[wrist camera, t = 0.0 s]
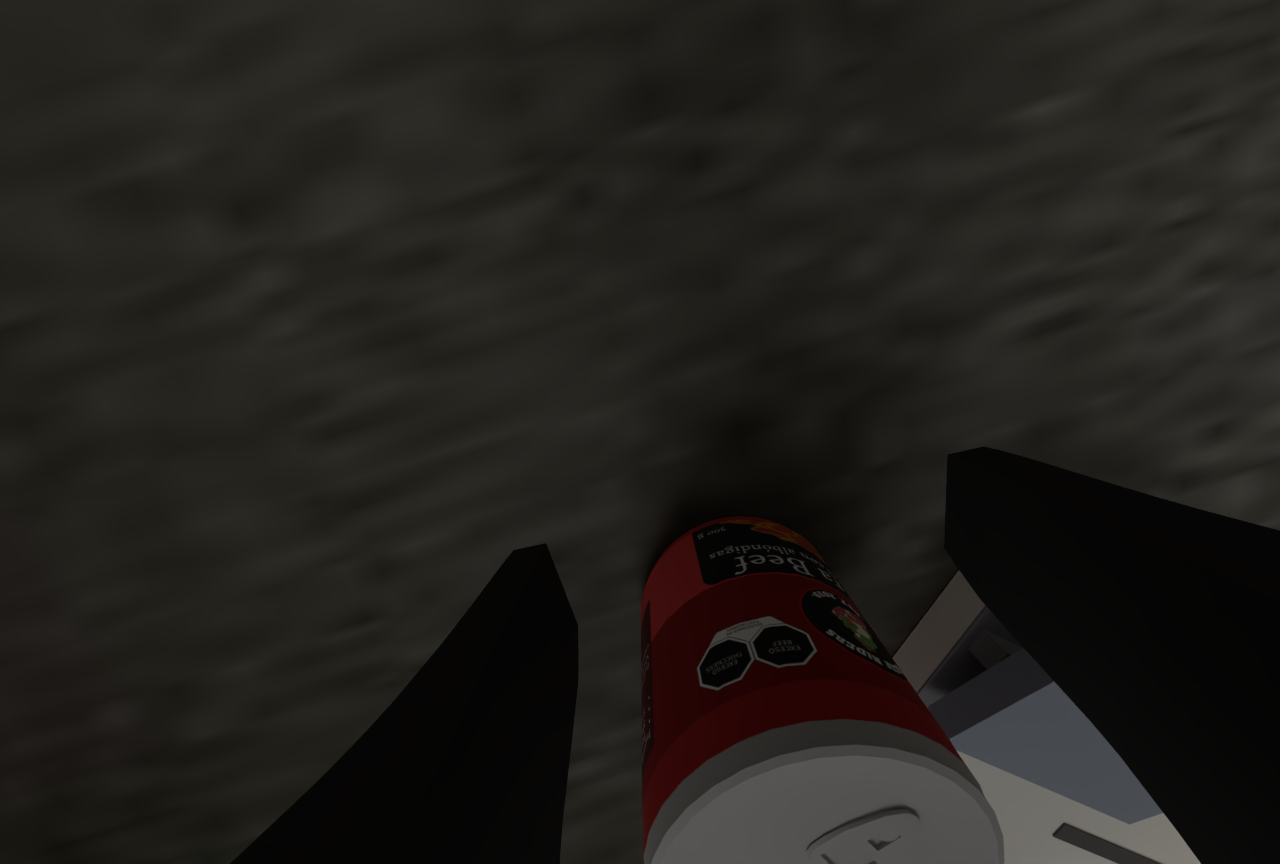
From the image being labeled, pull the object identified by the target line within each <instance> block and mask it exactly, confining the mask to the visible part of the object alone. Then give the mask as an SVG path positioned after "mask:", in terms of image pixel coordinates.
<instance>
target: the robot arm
mask: <svg viewBox="0 0 1280 864" xmlns="http://www.w3.org/2000/svg"><path fill="white" fill-rule="evenodd" d="M944 548H945V550H946V551H947V553H948V554H949V556H950V557H951V558H952V560H953V561H954V563H955V564H956V566H957V567H958V569H959V570H960V572H961V573H962V575H963V576H964V578H965V579H966V580H967V582H968V583H969V585H970V586H971V587H972V589H973V590H974V592H975V593H976V594H977V596H978V597H979V598H980V600H981V601H982V602H983V603H984V604H985V605H986V606H987V608H988V609H989V610H990V611H991V612H992V613H993V614H994V615H995V617H996V618H997V619H998V620H999V621H1000V622H1001V623H1002V624H1003V626H1004V627H1005V628H1006V629H1007V630H1008V631H1009V632H1010V633H1011V634H1012V636H1013V637H1014V638H1015V639H1016V640H1017V641H1018V642H1019V643H1020V644H1021V646H1022V647H1023V648H1024V649H1025V650H1026V651H1027V652H1028V653H1029V654H1030V655H1031V657H1032V658H1033V659H1034V660H1035V661H1036V662H1037V663H1038V664H1039V665H1040V666H1041V668H1042V669H1043V670H1044V671H1045V672H1046V673H1047V674H1048V675H1049V676H1050V677H1051V679H1052V680H1053V681H1054V682H1055V683H1056V684H1057V685H1058V686H1059V687H1060V688H1061V690H1062V691H1063V692H1064V693H1065V694H1066V695H1067V696H1068V697H1069V698H1070V699H1071V701H1072V702H1073V703H1074V704H1075V705H1076V706H1077V707H1078V708H1079V709H1080V710H1081V712H1082V713H1083V714H1084V715H1085V716H1086V717H1087V718H1088V719H1089V720H1090V721H1091V723H1092V724H1093V725H1094V726H1095V727H1096V729H1097V730H1098V731H1099V732H1100V733H1101V734H1102V736H1103V737H1104V738H1105V739H1106V740H1107V742H1108V743H1109V744H1110V745H1111V746H1112V747H1113V749H1114V750H1115V751H1116V752H1117V753H1118V755H1119V756H1120V757H1121V758H1122V760H1123V761H1124V762H1125V764H1126V765H1127V766H1128V768H1129V769H1130V770H1131V771H1132V773H1133V774H1134V775H1135V777H1136V778H1137V779H1138V781H1139V782H1140V783H1141V785H1142V786H1143V787H1144V788H1145V790H1146V791H1147V792H1148V794H1149V795H1150V796H1151V798H1152V799H1153V800H1154V801H1155V803H1156V804H1157V805H1158V807H1159V808H1160V809H1161V811H1162V812H1163V813H1164V814H1165V816H1166V817H1167V818H1168V820H1169V821H1170V822H1171V824H1172V825H1173V826H1174V828H1175V829H1176V830H1177V832H1178V833H1179V834H1180V836H1181V837H1182V838H1183V840H1184V841H1185V842H1186V844H1187V845H1188V847H1189V848H1190V849H1191V851H1192V852H1193V853H1194V855H1195V856H1196V857H1197V859H1198V860H1199V862H1200V863H1201V864H1280V531H1279V530H1275V529H1272V528H1268V527H1264V526H1260V525H1256V524H1252V523H1249V522H1245V521H1241V520H1237V519H1234V518H1230V517H1226V516H1222V515H1219V514H1215V513H1211V512H1207V511H1204V510H1200V509H1196V508H1193V507H1189V506H1186V505H1182V504H1179V503H1175V502H1172V501H1168V500H1165V499H1161V498H1158V497H1154V496H1151V495H1148V494H1144V493H1141V492H1137V491H1134V490H1131V489H1127V488H1124V487H1121V486H1118V485H1114V484H1111V483H1108V482H1104V481H1101V480H1098V479H1095V478H1091V477H1088V476H1085V475H1082V474H1078V473H1075V472H1072V471H1069V470H1065V469H1062V468H1059V467H1056V466H1052V465H1049V464H1046V463H1042V462H1039V461H1036V460H1032V459H1029V458H1026V457H1022V456H1019V455H1015V454H1011V453H1008V452H1004V451H1000V450H996V449H992V448H987V447H980V448H975V449H971V450H966V451H962V452H957V453H953V454H948V459H947V486H946V514H945V541H944ZM577 687H578V624H577V621H576V619H575V616H574V614H573V611H572V609H571V606H570V604H569V601H568V598H567V596H566V593H565V591H564V588H563V586H562V583H561V581H560V578H559V575H558V573H557V570H556V568H555V565H554V563H553V560H552V558H551V555H550V552H549V550H548V547H547V545H546V543H545V544H540V545H536V546H531V547H526V548H522V549H517V550H514V551H513V552H512V553H511V554H510V555H509V557H508V558H507V559H506V560H505V562H504V563H503V564H502V566H501V567H500V568H499V570H498V571H497V572H496V574H495V575H494V576H493V577H492V579H491V580H490V582H489V583H488V584H487V586H486V587H485V588H484V590H483V591H482V592H481V594H480V595H479V596H478V598H477V599H476V600H475V602H474V603H473V604H472V605H471V607H470V608H469V609H468V611H467V612H466V613H465V615H464V616H463V617H462V618H461V620H460V621H459V622H458V624H457V625H456V626H455V627H454V629H453V630H452V631H451V633H450V634H449V635H448V637H447V638H446V639H445V640H444V642H443V643H442V644H441V645H440V647H439V648H438V649H437V650H436V651H435V653H434V654H433V655H432V656H431V657H430V659H429V660H428V661H427V662H426V663H425V664H424V666H423V667H422V668H421V669H420V670H419V672H418V673H417V674H416V675H415V676H414V678H413V679H412V680H411V681H410V682H409V684H408V685H407V686H406V687H405V688H404V690H403V691H402V692H401V693H400V694H399V696H398V697H397V698H396V699H395V700H394V701H393V702H392V704H391V705H390V706H389V707H388V708H387V709H386V710H385V711H384V713H383V714H382V715H381V716H380V717H379V718H378V719H377V720H376V721H375V722H374V723H373V725H372V726H371V727H370V728H369V729H368V730H367V731H366V732H365V733H364V734H363V735H362V736H361V737H360V738H359V739H358V741H357V742H356V743H355V744H354V745H353V746H352V747H351V748H350V749H349V750H348V751H347V752H346V753H345V754H344V755H343V756H342V757H341V758H340V759H339V760H338V761H337V762H336V763H335V764H334V765H333V766H332V767H331V768H330V769H329V770H328V771H327V772H326V773H325V774H324V775H323V776H322V777H321V778H320V779H319V780H318V781H317V782H316V783H315V784H314V785H313V786H312V787H311V788H310V789H309V790H308V791H307V792H306V793H305V794H304V795H303V796H302V797H301V798H300V799H298V800H297V801H296V802H295V803H294V804H293V805H292V806H291V807H290V808H289V809H288V810H287V811H286V812H285V813H284V814H283V815H281V816H280V817H279V818H278V819H277V820H276V821H275V822H274V823H273V824H272V825H271V826H270V827H269V828H268V829H267V830H266V831H264V832H263V833H262V834H261V835H260V836H259V837H258V838H257V839H256V840H255V841H254V842H253V843H252V844H251V845H250V846H249V847H247V848H246V849H245V850H244V851H243V852H242V853H241V854H240V855H239V856H238V857H237V858H236V859H235V860H233V861H232V862H231V863H230V864H560V849H561V836H562V823H563V813H564V804H565V795H566V787H567V778H568V769H569V760H570V751H571V743H572V734H573V725H574V716H575V706H576V697H577Z"/></svg>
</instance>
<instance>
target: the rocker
mask: <svg viewBox="0 0 1280 864" xmlns="http://www.w3.org/2000/svg"><path fill="white" fill-rule="evenodd" d="M928 708H929V711H930V712H931V714H932V715H933V717H934V718H935V719H936V721H937V722H938V724H939V725H940V727H941V728H942V729H943V731H944V732H945V734H946V735H947V737H948V738H949V739H950V741H951V742H952V744H953V746H954V747H955V749H956V750H957V751H959V752H962V753H964V754H966V755H969V756H971V757H973V758H976V759H978V760H980V761H983V762H985V763H987V764H990V765H992V766H994V767H997V768H999V769H1001V770H1004V771H1006V772H1008V773H1011V774H1013V775H1015V776H1018V777H1020V778H1022V779H1025V780H1027V781H1029V782H1032V783H1034V784H1036V785H1039V786H1041V787H1043V788H1046V789H1048V790H1050V791H1053V792H1055V793H1057V794H1060V795H1062V796H1064V797H1067V798H1069V799H1071V800H1074V801H1076V802H1078V803H1081V804H1083V805H1085V806H1087V807H1090V808H1092V809H1094V810H1097V811H1099V812H1101V813H1104V814H1106V815H1108V816H1111V817H1113V818H1115V819H1118V820H1120V821H1122V822H1125V823H1127V824H1129V825H1130V824H1133V823H1135V822H1138V821H1141V820H1144V819H1147V818H1150V817H1153V816H1156V815H1159V814H1162V813H1163V812H1162V811H1161V809H1160V808H1159V807H1158V805H1157V804H1156V803H1155V801H1154V800H1153V799H1152V798H1151V796H1150V795H1149V794H1148V792H1147V791H1146V790H1145V788H1144V787H1143V786H1142V785H1141V783H1140V782H1139V781H1138V779H1137V778H1136V777H1135V775H1134V774H1133V773H1132V771H1131V770H1130V769H1129V768H1128V766H1127V765H1126V764H1125V762H1124V761H1123V760H1122V758H1121V757H1120V756H1119V755H1118V753H1117V752H1116V751H1115V750H1114V749H1113V747H1112V746H1111V745H1110V744H1109V743H1108V742H1107V740H1106V739H1105V738H1104V737H1103V736H1102V734H1101V733H1100V732H1099V731H1098V730H1097V729H1096V727H1095V726H1094V725H1093V724H1092V723H1091V721H1090V720H1089V719H1088V718H1087V717H1086V716H1085V715H1084V714H1083V713H1082V712H1081V710H1080V709H1079V708H1078V707H1077V706H1076V705H1075V704H1074V703H1073V702H1072V701H1071V699H1070V698H1069V697H1068V696H1067V695H1066V694H1065V693H1064V692H1063V691H1062V690H1061V688H1060V687H1059V686H1058V685H1057V684H1056V683H1055V682H1054V681H1053V680H1052V679H1051V677H1050V676H1049V675H1048V674H1047V673H1046V672H1045V671H1044V670H1043V669H1042V668H1041V666H1040V665H1039V664H1038V663H1037V662H1036V661H1035V660H1034V659H1033V658H1032V657H1031V655H1030V654H1029V653H1028V652H1027V651H1026V650H1025V649H1024V648H1022V649H1020V650H1019V651H1017V652H1015V653H1014V654H1012V655H1011V656H1009V657H1007V658H1006V659H1004V660H1002V661H1001V662H999V663H998V664H996V665H994V666H993V667H991V668H989V669H988V670H986V671H984V672H983V673H981V674H980V675H978V676H976V677H975V678H973V679H971V680H970V681H968V682H967V683H965V684H963V685H962V686H960V687H958V688H957V689H955V690H954V691H952V692H950V693H949V694H947V695H945V696H944V697H942V698H940V699H939V700H937V701H936V702H934V703H932V704H931V705H929V706H928Z"/></svg>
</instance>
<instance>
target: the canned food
mask: <svg viewBox="0 0 1280 864" xmlns="http://www.w3.org/2000/svg"><path fill="white" fill-rule="evenodd" d="M641 667H642V813H643V835H644V864H1004V841H1003V834H1002V831H1001V828H1000V825H999V822H998V820H997V817H996V814H995V812H994V810H993V809H992V807H991V806H990V804H989V803H988V801H987V800H986V798H985V797H984V794H983V791H982V789H981V786H980V784H979V783H978V781H977V780H976V779H975V777H974V776H973V774H972V773H971V771H970V770H969V768H968V767H967V766H966V764H965V763H964V761H963V760H962V758H961V757H960V755H959V754H958V753H957V751H956V749H955V747H954V746H953V744H952V742H951V741H950V739H949V738H948V737H947V735H946V734H945V732H944V731H943V729H942V728H941V727H940V725H939V724H938V722H937V721H936V719H935V718H934V717H933V715H932V714H931V712H930V711H929V709H928V708H927V707H926V705H925V704H924V702H923V701H922V700H921V698H920V697H919V695H918V694H917V692H916V691H915V690H914V688H913V687H912V685H911V684H910V682H909V681H908V680H907V678H906V677H905V675H904V674H903V672H902V671H901V670H900V668H899V667H898V665H897V664H896V663H895V661H894V660H893V658H892V657H891V655H890V654H889V653H888V651H887V650H886V648H885V647H884V645H883V644H882V643H881V641H880V640H879V638H878V637H877V635H876V634H875V633H874V631H873V630H872V628H871V627H870V625H869V624H868V623H867V621H866V620H865V618H864V617H863V616H862V614H861V613H860V611H859V610H858V608H857V607H856V606H855V604H854V603H853V601H852V600H851V598H850V597H849V596H848V594H847V593H846V591H845V590H844V588H843V587H842V586H841V584H840V583H839V581H838V580H837V579H836V577H835V576H834V574H833V573H832V571H831V570H830V569H829V567H828V566H827V564H826V563H825V561H824V560H823V559H822V557H821V556H820V554H819V553H818V552H817V550H816V549H815V547H814V546H813V545H811V544H810V543H809V542H808V541H807V540H806V539H805V538H803V537H802V536H801V535H799V534H798V533H796V532H794V531H792V530H790V529H788V528H787V527H785V526H783V525H781V524H778V523H776V522H773V521H770V520H766V519H763V518H758V517H749V516H734V517H724V518H720V519H716V520H712V521H708V522H706V523H704V524H701V525H699V526H697V527H695V528H692V529H691V530H689V531H688V532H686V533H685V534H683V535H682V536H680V537H679V538H677V539H676V540H675V541H674V542H673V543H672V544H671V545H670V546H669V547H668V548H667V549H666V550H665V551H664V553H663V554H662V556H661V557H660V558H659V560H658V561H657V563H656V564H655V566H654V568H653V570H652V572H651V574H650V576H649V578H648V581H647V583H646V585H645V588H644V592H643V598H642V603H641Z"/></svg>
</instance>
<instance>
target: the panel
mask: <svg viewBox="0 0 1280 864" xmlns="http://www.w3.org/2000/svg"><path fill="white" fill-rule="evenodd" d="M1022 648H1023V647H1022V646H1021V644H1020V643H1019V642H1018V641H1017V640H1016V639H1015V638H1014V637H1013V636H1012V634H1011V633H1010V632H1009V631H1008V630H1007V629H1006V628H1005V627H1004V626H1003V624H1002V623H1001V622H1000V621H999V620H998V619H997V618H996V617H995V615H994V614H993V613H992V612H991V611H990V610H989V609H988V608H987V606H986V605H985V604H984V603H983V602H982V601H981V600H980V598H979V597H978V596H977V594H976V593H975V592H974V590H973V589H972V587H971V586H970V585H969V583H968V582H967V580H966V579H965V578H964V576H963V575H962V573H961V572H960V570H959V571H958V572H957V573H956V575H955V576H954V577H953V579H952V580H951V581H950V582H949V584H948V585H947V586H946V588H945V589H944V590H943V592H942V593H941V594H940V596H939V597H938V598H937V600H936V601H935V602H934V604H933V605H932V606H931V608H930V609H929V610H928V612H927V613H926V614H925V616H924V617H923V618H922V620H921V621H920V622H919V624H918V625H917V626H916V627H915V629H914V630H913V631H912V633H911V634H910V635H909V637H908V638H907V639H906V641H905V642H904V643H903V645H902V646H901V647H900V649H899V650H898V651H897V653H896V654H895V655H894V657H893V660H894V661H895V663H896V664H897V665H898V667H899V668H900V670H901V671H902V672H903V674H904V675H905V677H906V678H907V680H908V681H909V682H910V684H911V685H912V687H913V688H914V690H915V691H916V692H917V694H918V695H919V697H920V698H921V700H922V701H923V702H924V704H925V705H926V707H927V708H928V706H929V705H931V704H932V703H934V702H936V701H937V700H939V699H940V698H942V697H944V696H945V695H947V694H949V693H950V692H952V691H954V690H955V689H957V688H958V687H960V686H962V685H963V684H965V683H967V682H968V681H970V680H971V679H973V678H975V677H976V676H978V675H980V674H981V673H983V672H984V671H986V670H988V669H989V668H991V667H993V666H994V665H996V664H998V663H999V662H1001V661H1002V660H1004V659H1006V658H1007V657H1009V656H1011V655H1012V654H1014V653H1015V652H1017V651H1019V650H1020V649H1022ZM928 709H929V708H928ZM956 751H957V750H956ZM957 753H958V754H959V755H960V757H961V758H962V760H963V761H964V763H965V764H966V766H967V767H968V768H969V770H970V771H971V773H972V774H973V776H974V777H975V779H976V780H977V781H978V783H979V784H980V786H981V789H982V791H983V794H984V797H985V798H986V800H987V801H988V803H989V804H990V806H991V807H992V809H993V810H994V812H995V814H996V817H997V820H998V822H999V825H1000V828H1001V831H1002V834H1003V841H1004V864H1201V863H1200V862H1199V860H1198V859H1197V857H1196V856H1195V855H1194V853H1193V852H1192V851H1191V849H1190V848H1189V847H1188V845H1187V844H1186V842H1185V841H1184V840H1183V838H1182V837H1181V836H1180V834H1179V833H1178V832H1177V830H1176V829H1175V828H1174V826H1173V825H1172V824H1171V822H1170V821H1169V820H1168V818H1167V817H1166V816H1165V814H1164V813H1162V814H1159V815H1156V816H1153V817H1150V818H1147V819H1144V820H1141V821H1138V822H1135V823H1133V824H1130V825H1129V824H1127V823H1125V822H1122V821H1120V820H1118V819H1115V818H1113V817H1111V816H1108V815H1106V814H1104V813H1101V812H1099V811H1097V810H1094V809H1092V808H1090V807H1087V806H1085V805H1083V804H1081V803H1078V802H1076V801H1074V800H1071V799H1069V798H1067V797H1064V796H1062V795H1060V794H1057V793H1055V792H1053V791H1050V790H1048V789H1046V788H1043V787H1041V786H1039V785H1036V784H1034V783H1032V782H1029V781H1027V780H1025V779H1022V778H1020V777H1018V776H1015V775H1013V774H1011V773H1008V772H1006V771H1004V770H1001V769H999V768H997V767H994V766H992V765H990V764H987V763H985V762H983V761H980V760H978V759H976V758H973V757H971V756H969V755H966V754H964V753H962V752H959V751H957Z"/></svg>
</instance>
